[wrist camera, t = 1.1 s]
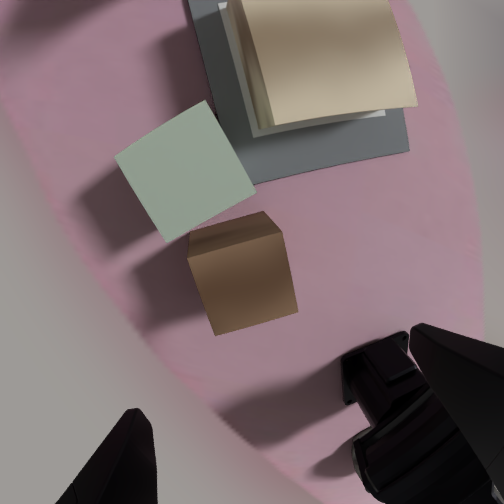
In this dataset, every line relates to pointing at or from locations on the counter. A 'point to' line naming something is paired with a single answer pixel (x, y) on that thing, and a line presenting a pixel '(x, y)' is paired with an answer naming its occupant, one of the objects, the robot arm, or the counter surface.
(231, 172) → the sage block
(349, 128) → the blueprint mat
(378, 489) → the robot arm
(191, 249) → the walnut cube
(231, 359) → the counter surface
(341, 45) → the birch base block
